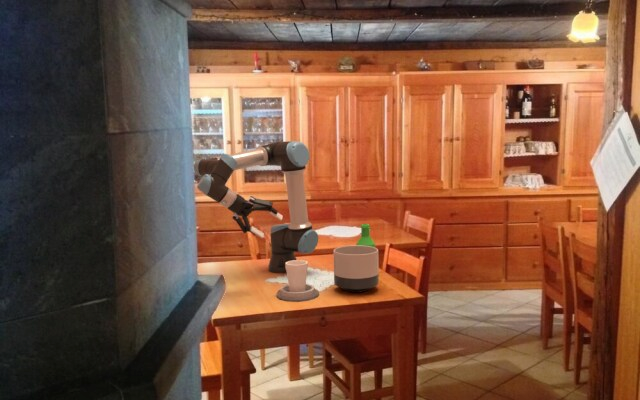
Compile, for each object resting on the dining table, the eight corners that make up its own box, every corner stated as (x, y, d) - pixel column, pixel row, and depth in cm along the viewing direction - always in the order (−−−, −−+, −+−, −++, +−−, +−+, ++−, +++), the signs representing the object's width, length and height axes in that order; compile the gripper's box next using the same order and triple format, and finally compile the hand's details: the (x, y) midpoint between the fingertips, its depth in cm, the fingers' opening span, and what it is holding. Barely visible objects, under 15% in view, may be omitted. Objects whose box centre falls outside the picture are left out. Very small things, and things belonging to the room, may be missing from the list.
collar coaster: (268, 294, 229) (267, 288, 229) (301, 286, 241) (301, 279, 240) (293, 304, 215) (293, 297, 215) (327, 294, 227) (327, 288, 227)
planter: (384, 294, 226) (384, 252, 224) (340, 298, 222) (339, 256, 220) (371, 282, 245) (370, 244, 243) (329, 285, 241) (328, 246, 239)
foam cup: (313, 292, 228) (312, 262, 226) (297, 297, 221) (296, 266, 220) (297, 288, 234) (296, 259, 233) (281, 293, 228) (280, 263, 226)
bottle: (374, 278, 251) (373, 225, 248) (355, 278, 252) (354, 225, 249) (376, 273, 259) (375, 222, 256) (358, 273, 261) (357, 222, 258)
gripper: (213, 223, 228) (254, 248, 235) (247, 188, 216) (289, 216, 223) (217, 212, 234) (257, 237, 241) (250, 177, 222) (291, 205, 229)
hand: (272, 227), depth 232 cm, fingers open, 13 cm apart
